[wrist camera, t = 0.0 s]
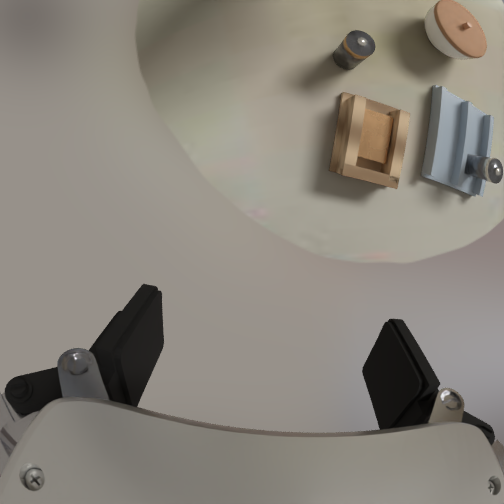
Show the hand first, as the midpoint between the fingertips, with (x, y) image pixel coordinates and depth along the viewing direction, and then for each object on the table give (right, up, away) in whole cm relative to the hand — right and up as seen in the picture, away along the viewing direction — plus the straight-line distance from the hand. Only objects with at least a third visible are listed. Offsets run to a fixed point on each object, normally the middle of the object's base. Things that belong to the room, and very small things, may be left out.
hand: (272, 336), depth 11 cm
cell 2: (+36, +18, +23) cm, 47 cm away
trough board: (+34, +22, +23) cm, 46 cm away
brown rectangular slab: (+16, +19, +23) cm, 34 cm away
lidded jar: (+31, +40, +16) cm, 53 cm away
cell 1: (+13, +32, +20) cm, 40 cm away
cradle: (+16, +20, +25) cm, 36 cm away
